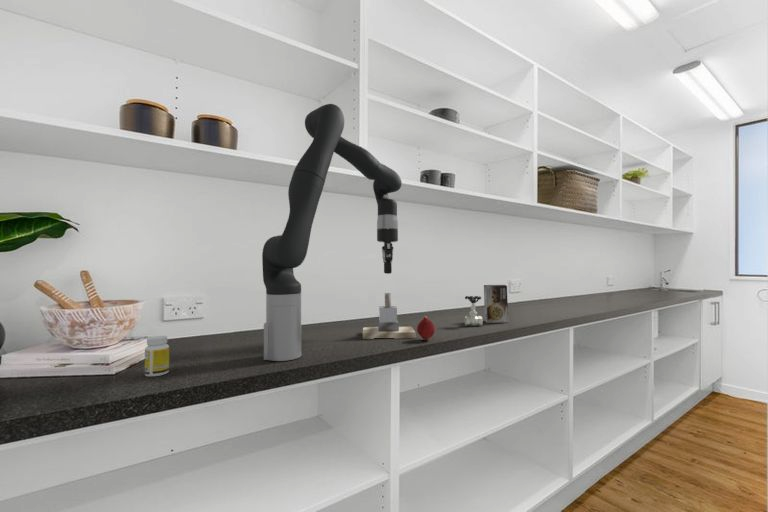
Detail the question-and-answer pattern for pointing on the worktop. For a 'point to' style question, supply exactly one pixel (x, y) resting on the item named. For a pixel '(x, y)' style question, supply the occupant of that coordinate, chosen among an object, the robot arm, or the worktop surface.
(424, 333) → the onion
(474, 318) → the valve
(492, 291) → the coffee box
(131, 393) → the worktop surface
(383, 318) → the block
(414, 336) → the shaft stand
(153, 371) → the supplement bottle
